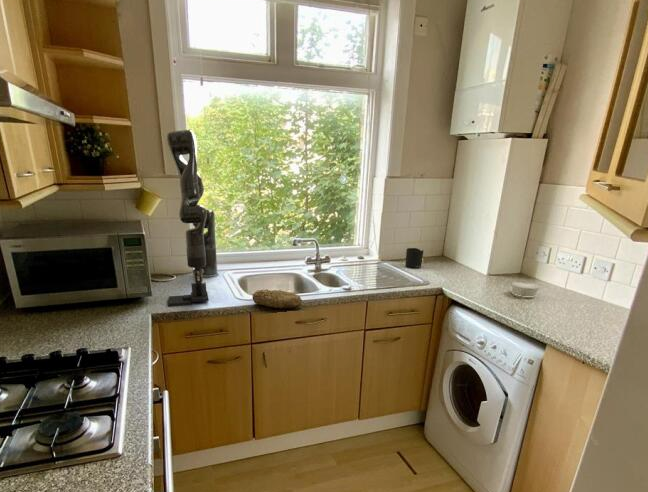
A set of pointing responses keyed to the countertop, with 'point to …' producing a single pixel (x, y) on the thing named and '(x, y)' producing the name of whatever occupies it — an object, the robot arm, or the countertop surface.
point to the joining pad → (197, 298)
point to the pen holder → (414, 258)
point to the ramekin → (524, 289)
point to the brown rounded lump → (277, 299)
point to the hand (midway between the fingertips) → (199, 294)
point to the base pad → (178, 301)
